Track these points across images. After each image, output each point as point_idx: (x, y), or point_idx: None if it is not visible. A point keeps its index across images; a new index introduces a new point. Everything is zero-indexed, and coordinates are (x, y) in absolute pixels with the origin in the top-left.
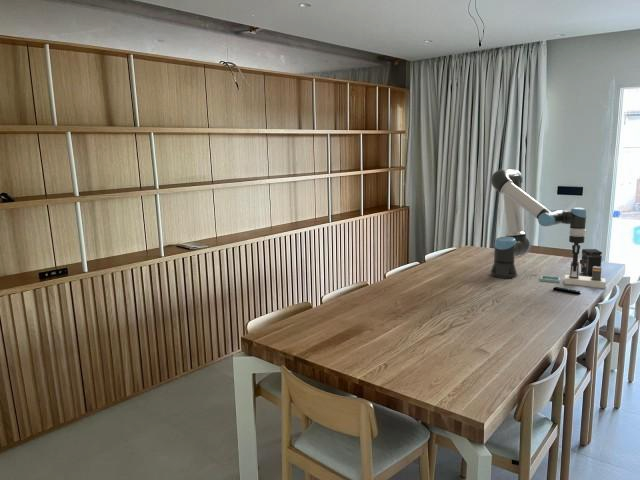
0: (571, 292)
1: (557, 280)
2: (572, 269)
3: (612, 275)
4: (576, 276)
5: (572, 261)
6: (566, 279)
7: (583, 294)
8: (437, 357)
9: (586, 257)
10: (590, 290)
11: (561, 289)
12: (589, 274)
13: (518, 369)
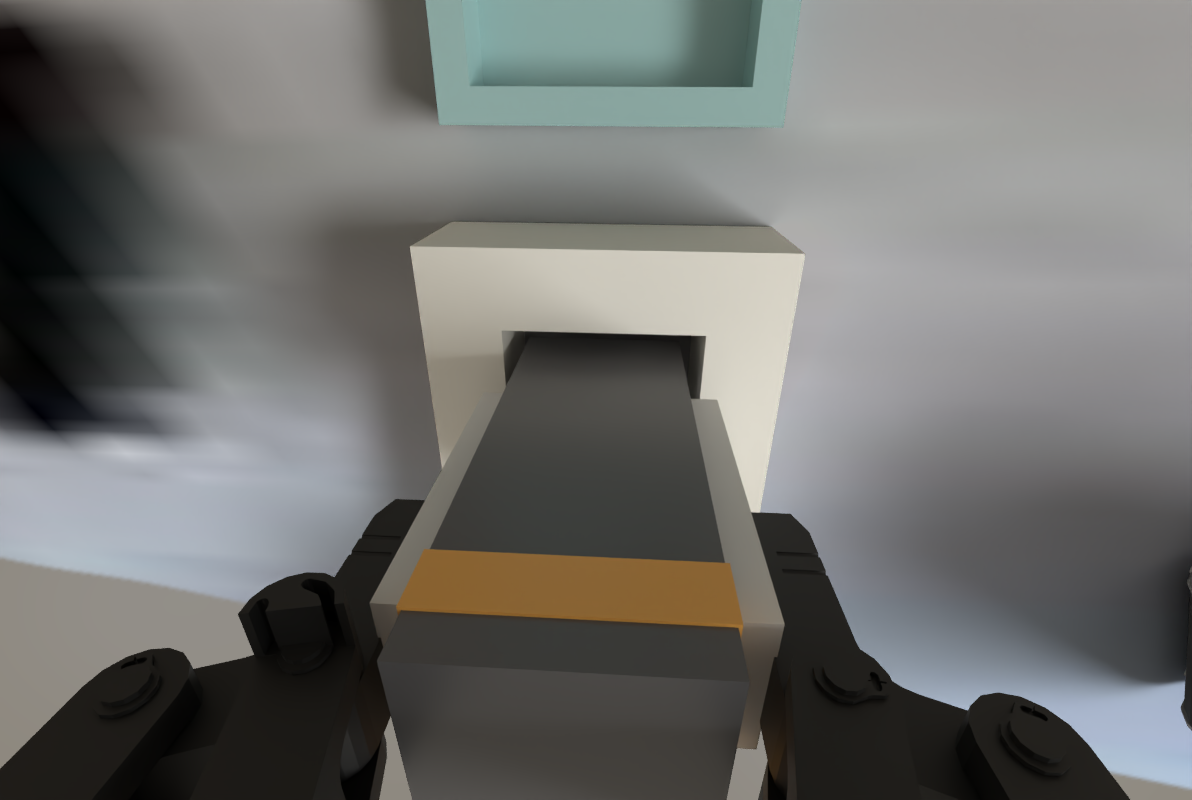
0: (10, 337)
1: (433, 72)
2: (425, 515)
3: (1185, 787)
4: None
5: (718, 718)
6: (422, 280)
7: (47, 475)
8: None
9: None
10: (305, 552)
11: (56, 180)
12: (1189, 606)
13: None
